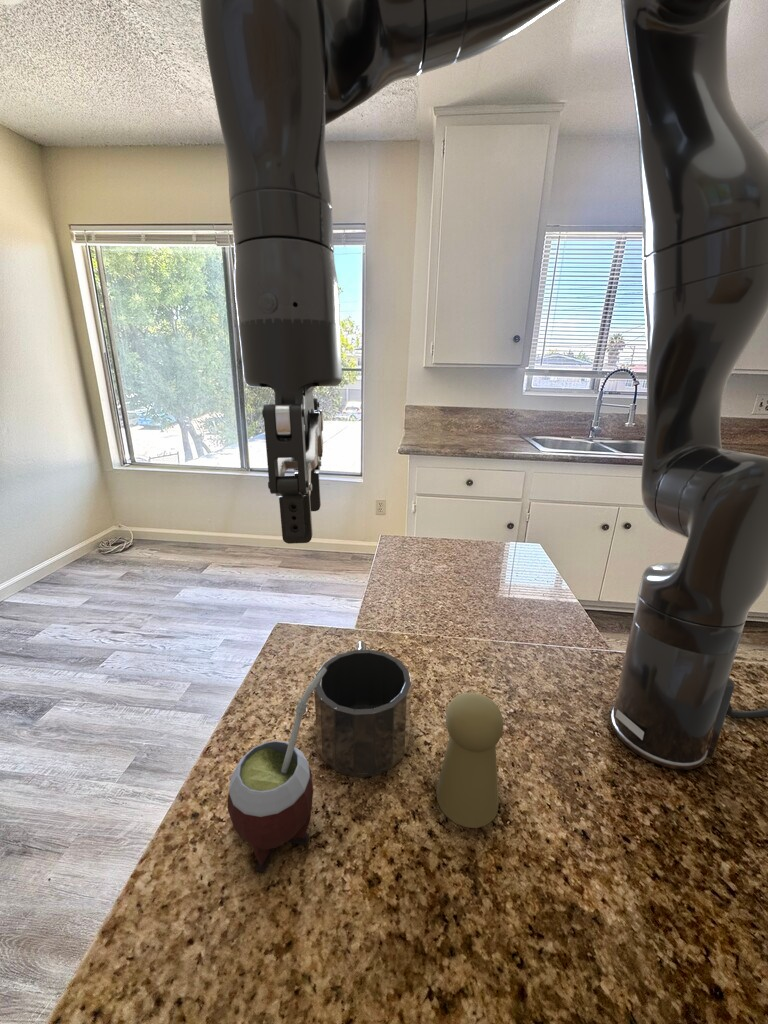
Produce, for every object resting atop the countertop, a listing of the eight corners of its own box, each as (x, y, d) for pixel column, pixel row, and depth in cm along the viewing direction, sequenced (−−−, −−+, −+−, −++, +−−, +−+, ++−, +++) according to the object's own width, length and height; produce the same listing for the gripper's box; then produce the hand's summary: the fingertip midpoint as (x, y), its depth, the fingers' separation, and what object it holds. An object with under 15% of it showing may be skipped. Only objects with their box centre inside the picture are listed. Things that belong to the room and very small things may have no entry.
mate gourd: (217, 869, 35) (196, 723, 30) (260, 784, 42) (248, 656, 38) (303, 887, 34) (294, 738, 29) (331, 796, 41) (327, 666, 37)
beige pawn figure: (500, 834, 38) (513, 736, 35) (433, 820, 39) (439, 724, 36) (497, 775, 43) (507, 687, 40) (438, 765, 45) (444, 678, 41)
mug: (414, 774, 43) (417, 711, 41) (313, 780, 43) (310, 716, 40) (399, 682, 57) (401, 631, 54) (322, 685, 56) (320, 633, 54)
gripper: (336, 304, 25) (346, 554, 30) (342, 332, 39) (348, 501, 43) (208, 304, 25) (239, 558, 29) (259, 332, 38) (275, 503, 43)
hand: (304, 524), depth 36 cm, fingers open, 8 cm apart
